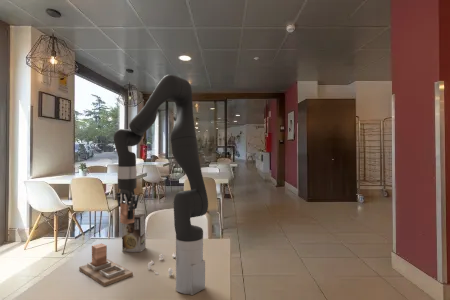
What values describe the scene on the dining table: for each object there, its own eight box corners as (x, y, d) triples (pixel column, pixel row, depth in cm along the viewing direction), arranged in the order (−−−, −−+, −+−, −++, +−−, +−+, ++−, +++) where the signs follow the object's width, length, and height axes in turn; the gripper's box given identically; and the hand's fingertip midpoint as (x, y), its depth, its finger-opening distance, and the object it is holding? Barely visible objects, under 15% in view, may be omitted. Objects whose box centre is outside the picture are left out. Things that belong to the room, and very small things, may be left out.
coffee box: (146, 247, 138) (146, 213, 138) (140, 252, 131) (140, 217, 131) (127, 246, 139) (127, 213, 138) (121, 251, 132) (121, 216, 132)
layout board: (132, 275, 108) (132, 250, 107) (104, 286, 99) (104, 259, 99) (106, 261, 121) (106, 239, 120) (79, 269, 112) (79, 246, 112)
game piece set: (188, 279, 105) (188, 269, 105) (137, 274, 109) (137, 264, 109) (202, 259, 124) (202, 250, 124) (159, 255, 128) (159, 247, 128)
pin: (134, 222, 120) (134, 203, 120) (125, 224, 117) (125, 204, 117) (129, 220, 123) (129, 202, 123) (120, 222, 120) (120, 203, 120)
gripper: (144, 177, 118) (144, 219, 118) (126, 175, 127) (126, 214, 127) (128, 179, 112) (128, 223, 112) (110, 176, 122) (110, 217, 122)
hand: (127, 218), depth 120 cm, fingers closed on pin, 4 cm apart
